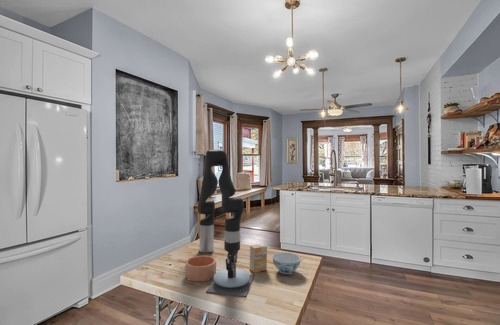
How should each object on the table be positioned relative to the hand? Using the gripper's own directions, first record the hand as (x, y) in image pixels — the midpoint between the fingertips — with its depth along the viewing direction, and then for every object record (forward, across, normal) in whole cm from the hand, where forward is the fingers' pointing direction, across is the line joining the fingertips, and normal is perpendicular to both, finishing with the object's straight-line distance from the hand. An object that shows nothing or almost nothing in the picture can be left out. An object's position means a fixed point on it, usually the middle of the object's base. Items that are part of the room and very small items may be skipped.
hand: (231, 275), depth 115 cm
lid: (+1, 0, 0) cm, 1 cm away
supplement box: (+4, -18, +10) cm, 21 cm away
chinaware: (+4, -19, +25) cm, 32 cm away
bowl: (+4, -6, -18) cm, 19 cm away
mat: (+4, 0, 0) cm, 4 cm away
